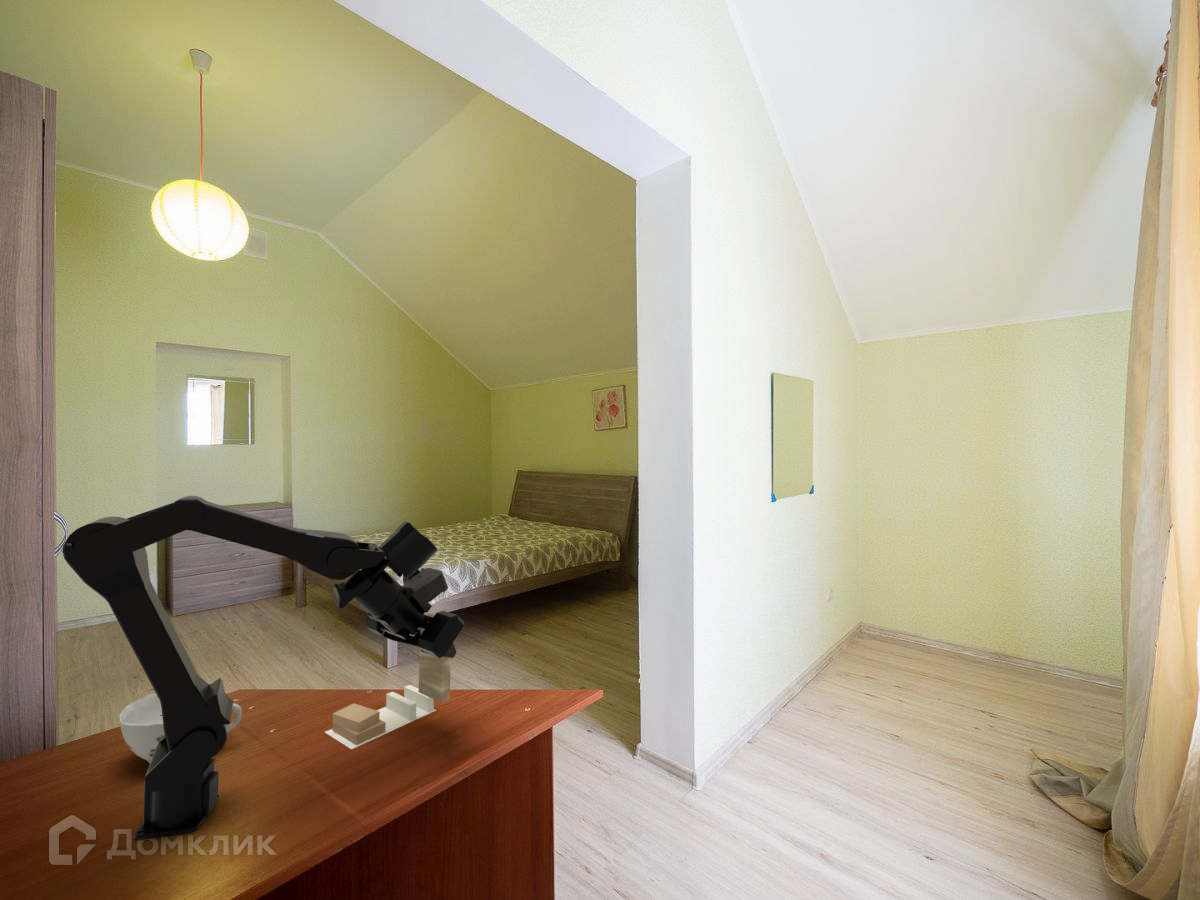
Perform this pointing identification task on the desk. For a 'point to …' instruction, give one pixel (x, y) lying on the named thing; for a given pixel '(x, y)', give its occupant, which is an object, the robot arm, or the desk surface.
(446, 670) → the grey brown wooden board
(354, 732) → the offcut rack
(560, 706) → the desk surface
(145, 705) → the teacup
